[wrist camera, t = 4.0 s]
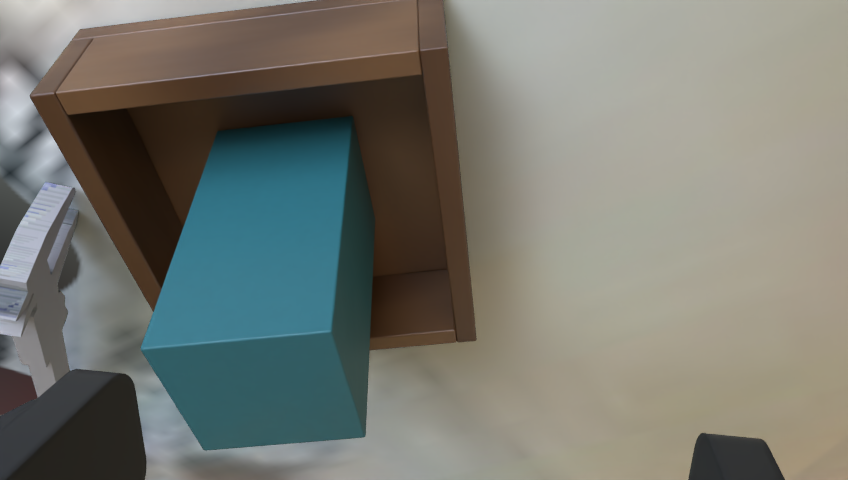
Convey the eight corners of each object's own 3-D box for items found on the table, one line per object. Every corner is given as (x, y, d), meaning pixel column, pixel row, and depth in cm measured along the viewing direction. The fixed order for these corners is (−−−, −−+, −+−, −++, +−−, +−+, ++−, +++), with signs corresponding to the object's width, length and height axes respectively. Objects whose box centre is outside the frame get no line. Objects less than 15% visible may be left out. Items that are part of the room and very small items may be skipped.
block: (352, 115, 25) (332, 331, 17) (375, 219, 28) (365, 438, 21) (216, 130, 25) (139, 349, 18) (255, 231, 28) (203, 451, 21)
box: (441, -16, 22) (447, 47, 19) (469, 266, 31) (477, 341, 28) (79, 28, 23) (27, 95, 20) (205, 291, 32) (184, 367, 29)
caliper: (49, 170, 27) (-23, 287, 22) (79, 177, 27) (13, 293, 23) (63, 441, 40) (18, 550, 35) (82, 444, 40) (41, 552, 36)
